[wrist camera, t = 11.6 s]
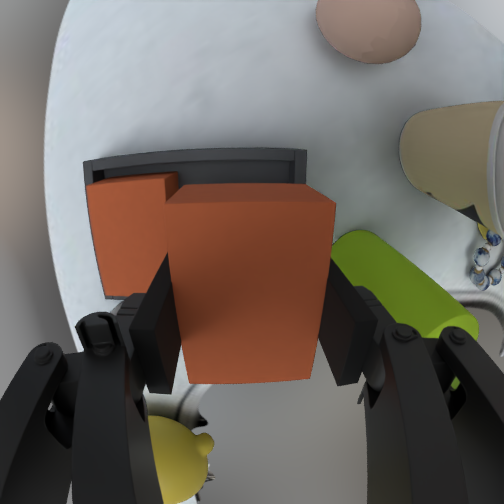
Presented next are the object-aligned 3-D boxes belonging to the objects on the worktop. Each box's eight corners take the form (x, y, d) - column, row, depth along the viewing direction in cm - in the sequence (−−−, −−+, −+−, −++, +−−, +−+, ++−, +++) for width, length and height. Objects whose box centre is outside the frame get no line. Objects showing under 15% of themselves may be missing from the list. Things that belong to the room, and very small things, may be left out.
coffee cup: (394, 209, 22) (494, 266, 11) (382, 101, 18) (493, 87, 7) (464, 196, 22) (553, 236, 10) (457, 104, 18) (555, 109, 7)
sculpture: (119, 481, 27) (110, 523, 15) (99, 408, 31) (77, 429, 19) (213, 472, 32) (239, 510, 21) (197, 401, 36) (217, 420, 25)
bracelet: (522, 224, 22) (532, 232, 20) (489, 285, 27) (497, 294, 25) (493, 205, 20) (506, 214, 18) (454, 281, 25) (463, 292, 23)
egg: (394, 29, 15) (451, 0, 8) (372, 88, 18) (436, 71, 10) (320, -12, 14) (356, -62, 6) (291, 46, 16) (323, -2, 9)
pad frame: (298, 148, 20) (307, 149, 17) (291, 283, 24) (297, 299, 21) (98, 158, 19) (82, 161, 16) (115, 284, 23) (105, 299, 20)
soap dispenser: (363, 305, 25) (470, 483, 7) (311, 271, 23) (426, 505, 5) (401, 258, 24) (550, 409, 5) (354, 216, 22) (554, 395, 3)
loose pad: (306, 183, 12) (336, 202, 9) (294, 328, 15) (310, 378, 12) (183, 184, 12) (163, 203, 8) (196, 331, 15) (189, 384, 11)
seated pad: (178, 171, 19) (164, 178, 15) (185, 271, 22) (176, 297, 18) (110, 176, 19) (85, 185, 15) (123, 272, 22) (105, 296, 18)
